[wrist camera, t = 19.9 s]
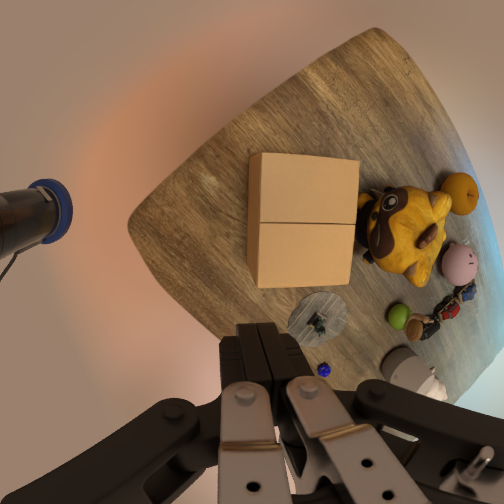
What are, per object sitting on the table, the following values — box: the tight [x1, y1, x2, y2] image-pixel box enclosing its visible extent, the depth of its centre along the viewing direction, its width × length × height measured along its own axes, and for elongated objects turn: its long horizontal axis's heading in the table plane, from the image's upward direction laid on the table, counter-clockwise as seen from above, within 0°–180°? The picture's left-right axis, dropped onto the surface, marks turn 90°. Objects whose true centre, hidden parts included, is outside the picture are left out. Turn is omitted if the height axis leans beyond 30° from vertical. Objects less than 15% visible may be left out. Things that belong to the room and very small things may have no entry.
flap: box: [257, 223, 355, 288], centre depth 36 cm, size 8×13×1 cm, turn 89°
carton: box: [247, 152, 359, 286], centre depth 40 cm, size 17×13×11 cm
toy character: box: [353, 185, 452, 287], centre depth 40 cm, size 17×15×18 cm
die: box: [318, 364, 331, 377], centre depth 54 cm, size 3×3×3 cm
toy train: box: [419, 279, 476, 341], centre depth 54 cm, size 4×22×5 cm, turn 123°
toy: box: [442, 243, 478, 286], centre depth 50 cm, size 9×9×10 cm
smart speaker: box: [382, 348, 434, 395], centre depth 52 cm, size 10×9×14 cm
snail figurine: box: [388, 304, 434, 342], centre depth 49 cm, size 5×6×12 cm
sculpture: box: [287, 292, 348, 347], centre depth 52 cm, size 12×9×8 cm
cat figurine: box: [424, 367, 447, 401], centre depth 61 cm, size 9×11×12 cm
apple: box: [440, 173, 479, 215], centre depth 45 cm, size 9×9×9 cm
